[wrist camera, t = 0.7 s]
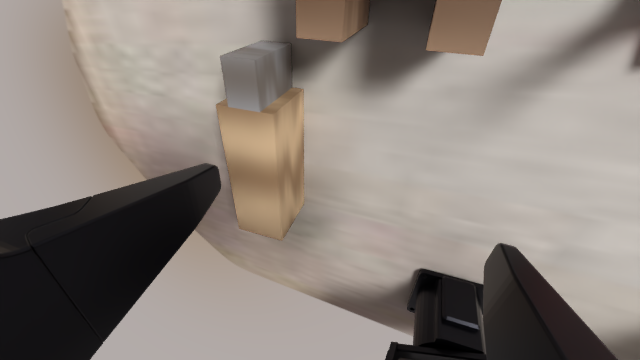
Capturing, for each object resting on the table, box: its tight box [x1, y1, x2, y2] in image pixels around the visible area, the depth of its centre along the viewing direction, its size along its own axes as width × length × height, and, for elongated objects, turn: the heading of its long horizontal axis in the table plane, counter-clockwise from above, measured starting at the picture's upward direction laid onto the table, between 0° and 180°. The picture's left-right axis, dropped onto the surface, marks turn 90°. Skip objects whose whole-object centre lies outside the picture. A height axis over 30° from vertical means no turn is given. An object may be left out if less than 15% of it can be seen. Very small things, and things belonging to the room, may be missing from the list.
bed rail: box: [216, 41, 304, 241], centre depth 22 cm, size 14×4×5 cm, turn 179°
